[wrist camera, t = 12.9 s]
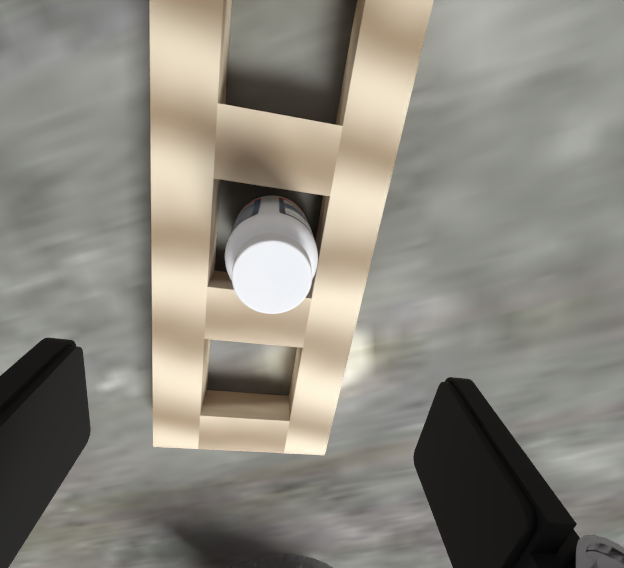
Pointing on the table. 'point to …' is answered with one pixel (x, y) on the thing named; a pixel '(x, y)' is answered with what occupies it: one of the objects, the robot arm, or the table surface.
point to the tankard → (283, 562)
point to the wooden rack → (271, 173)
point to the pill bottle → (271, 255)
